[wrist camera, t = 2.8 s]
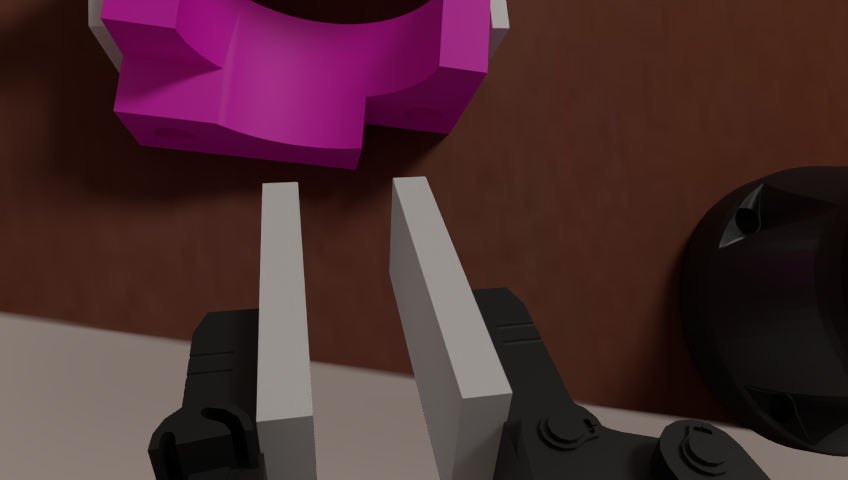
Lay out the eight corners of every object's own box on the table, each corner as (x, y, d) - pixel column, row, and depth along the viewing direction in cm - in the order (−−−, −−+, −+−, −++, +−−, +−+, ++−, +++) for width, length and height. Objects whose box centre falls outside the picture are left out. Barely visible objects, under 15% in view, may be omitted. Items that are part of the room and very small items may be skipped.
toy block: (141, 146, 30) (88, 79, 23) (160, 28, 32) (115, -71, 24) (445, 180, 33) (484, 129, 25) (451, 69, 34) (490, -9, 27)
